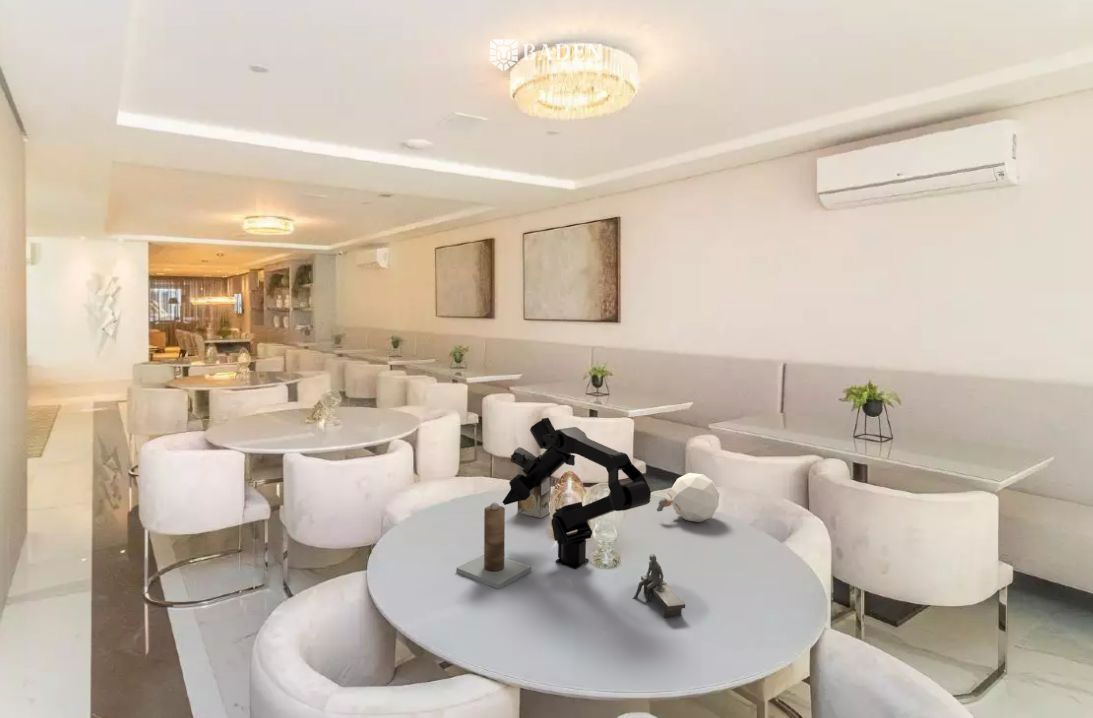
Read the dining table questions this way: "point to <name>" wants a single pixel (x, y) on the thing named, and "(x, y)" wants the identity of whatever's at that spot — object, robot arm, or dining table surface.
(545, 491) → the coffee box
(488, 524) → the pepper mill
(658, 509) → the faceted white ball
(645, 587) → the sculpture
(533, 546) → the dining table surface
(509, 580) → the slate board
